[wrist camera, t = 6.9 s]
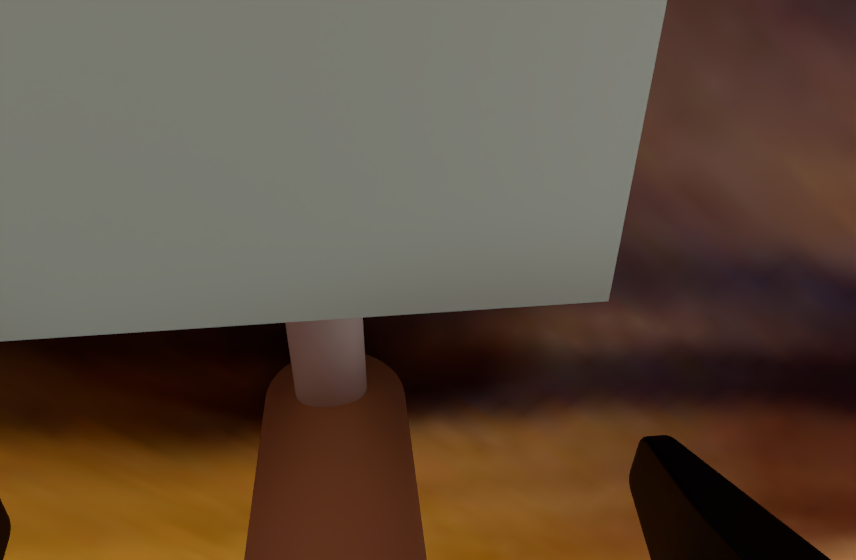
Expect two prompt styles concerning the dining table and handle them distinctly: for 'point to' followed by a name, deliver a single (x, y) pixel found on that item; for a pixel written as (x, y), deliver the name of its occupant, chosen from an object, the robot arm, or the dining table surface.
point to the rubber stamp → (315, 200)
